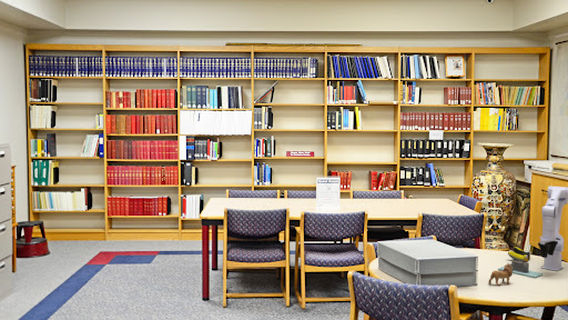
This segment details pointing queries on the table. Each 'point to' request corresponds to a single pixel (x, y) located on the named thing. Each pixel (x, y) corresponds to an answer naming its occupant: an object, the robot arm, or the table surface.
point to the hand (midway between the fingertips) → (547, 256)
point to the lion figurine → (502, 274)
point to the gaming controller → (519, 254)
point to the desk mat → (530, 274)
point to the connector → (520, 266)
